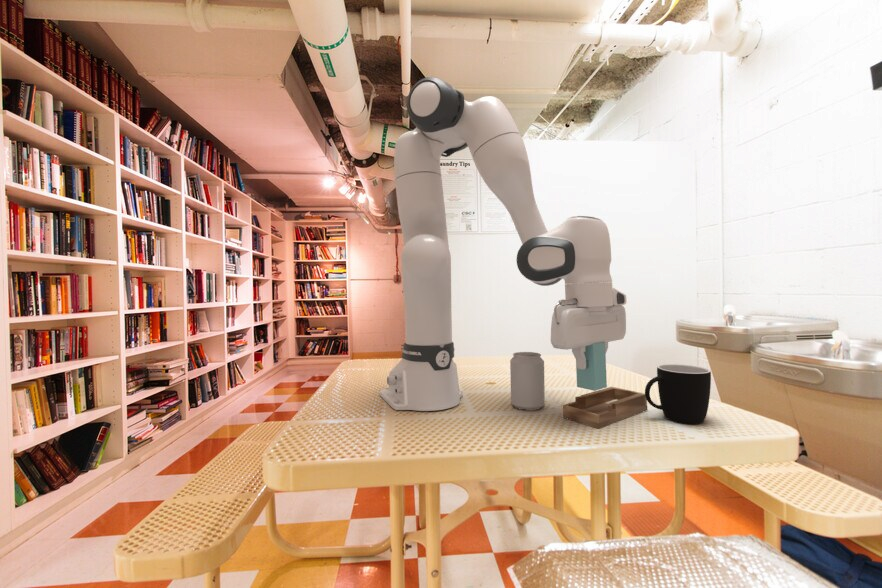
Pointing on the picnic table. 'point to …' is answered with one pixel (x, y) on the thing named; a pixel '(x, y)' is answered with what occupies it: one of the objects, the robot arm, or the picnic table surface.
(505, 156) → the robot arm
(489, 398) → the picnic table surface
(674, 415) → the mug
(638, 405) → the brown wooden tray
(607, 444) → the picnic table surface
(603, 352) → the block
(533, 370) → the can
